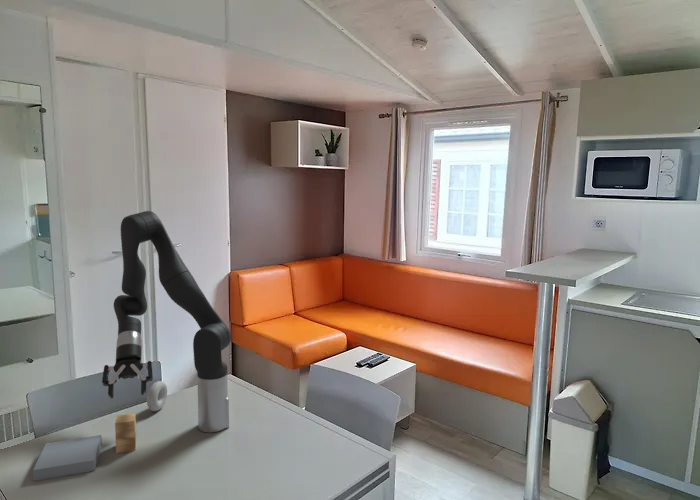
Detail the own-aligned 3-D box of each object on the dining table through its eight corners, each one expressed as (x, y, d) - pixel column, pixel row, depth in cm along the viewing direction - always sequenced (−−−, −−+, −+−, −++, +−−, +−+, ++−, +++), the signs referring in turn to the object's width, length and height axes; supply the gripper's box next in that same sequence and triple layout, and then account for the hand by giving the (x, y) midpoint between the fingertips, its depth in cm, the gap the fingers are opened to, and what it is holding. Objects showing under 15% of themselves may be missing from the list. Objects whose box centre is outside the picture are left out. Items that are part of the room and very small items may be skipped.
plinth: (101, 444, 139) (101, 435, 139) (94, 470, 126) (94, 460, 126) (46, 453, 134) (46, 443, 134) (33, 481, 121) (32, 470, 121)
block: (136, 441, 141) (135, 413, 140) (135, 450, 137) (134, 420, 136) (118, 444, 139) (116, 415, 138) (116, 453, 135) (115, 423, 134)
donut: (154, 416, 157) (153, 388, 156) (145, 416, 157) (144, 387, 156) (169, 403, 167) (168, 376, 166) (160, 403, 167) (159, 376, 166)
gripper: (103, 344, 148) (99, 394, 139) (152, 340, 154) (152, 387, 144) (106, 355, 154) (102, 403, 145) (153, 351, 159) (153, 397, 150)
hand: (127, 395), depth 144 cm, fingers open, 8 cm apart
